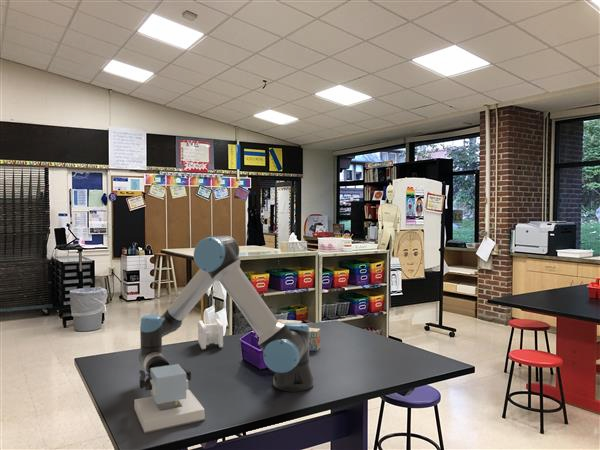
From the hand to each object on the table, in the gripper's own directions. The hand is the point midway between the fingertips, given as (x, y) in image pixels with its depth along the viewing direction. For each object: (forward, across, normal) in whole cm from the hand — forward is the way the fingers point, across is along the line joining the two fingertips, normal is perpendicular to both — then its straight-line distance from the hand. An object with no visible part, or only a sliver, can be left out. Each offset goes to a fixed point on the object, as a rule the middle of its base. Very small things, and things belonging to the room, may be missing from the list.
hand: (171, 388), depth 143 cm
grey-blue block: (-5, 0, -6) cm, 8 cm away
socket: (-4, 0, -10) cm, 11 cm away
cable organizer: (-71, -35, -11) cm, 79 cm away
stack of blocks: (-49, -71, -10) cm, 87 cm away
